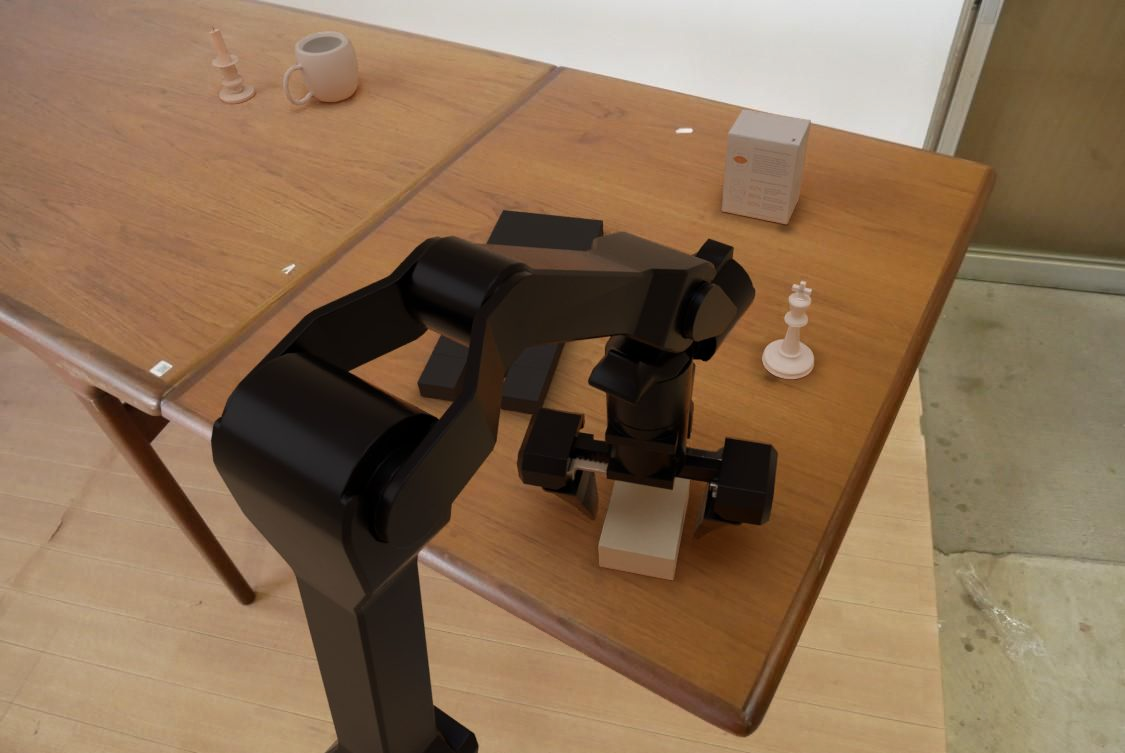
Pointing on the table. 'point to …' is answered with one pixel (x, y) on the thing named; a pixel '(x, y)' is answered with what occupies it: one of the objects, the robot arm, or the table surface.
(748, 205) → the small box
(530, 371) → the socket pad
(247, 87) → the candle
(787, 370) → the chess piece
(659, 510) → the beige stepped block
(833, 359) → the table surface
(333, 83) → the mug
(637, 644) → the table surface
